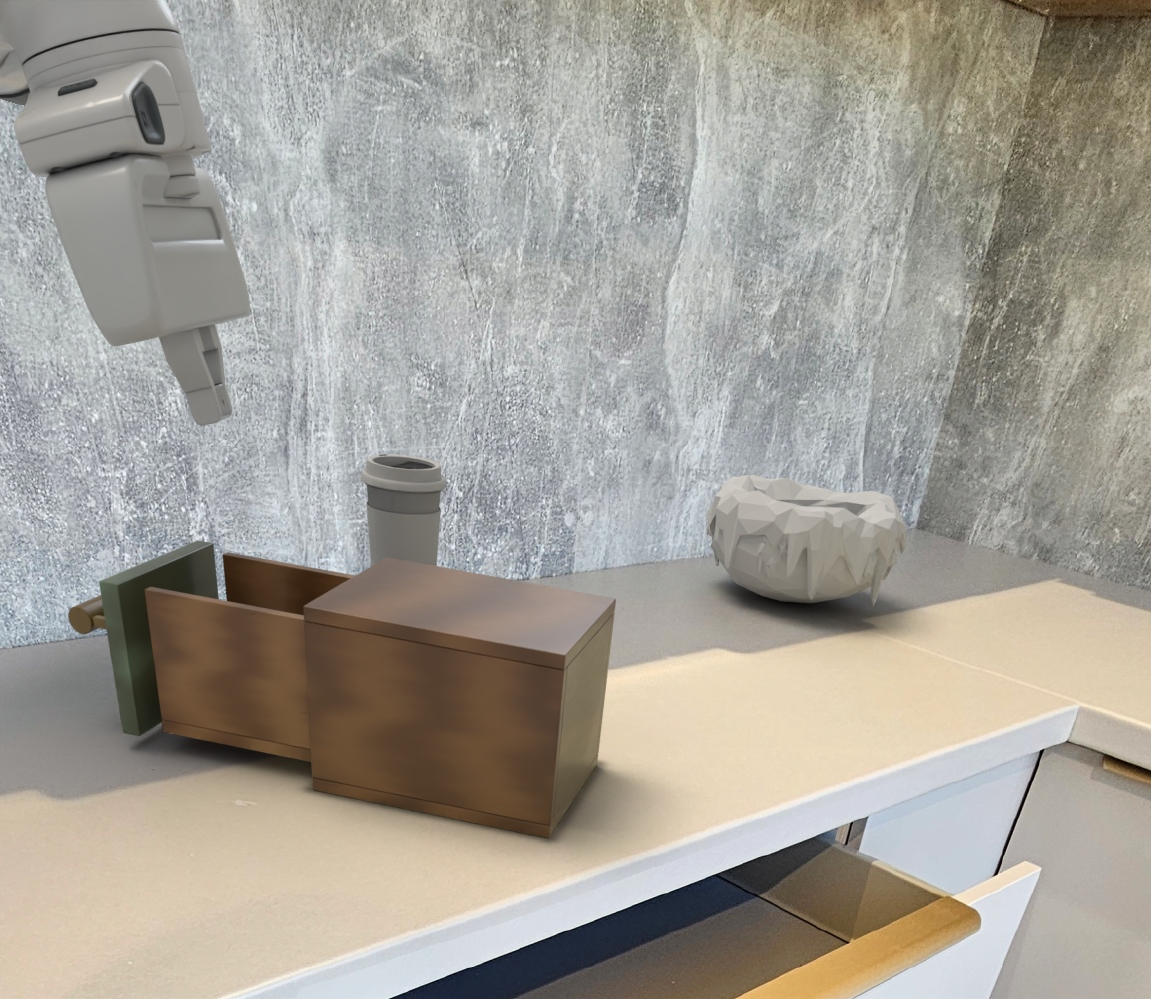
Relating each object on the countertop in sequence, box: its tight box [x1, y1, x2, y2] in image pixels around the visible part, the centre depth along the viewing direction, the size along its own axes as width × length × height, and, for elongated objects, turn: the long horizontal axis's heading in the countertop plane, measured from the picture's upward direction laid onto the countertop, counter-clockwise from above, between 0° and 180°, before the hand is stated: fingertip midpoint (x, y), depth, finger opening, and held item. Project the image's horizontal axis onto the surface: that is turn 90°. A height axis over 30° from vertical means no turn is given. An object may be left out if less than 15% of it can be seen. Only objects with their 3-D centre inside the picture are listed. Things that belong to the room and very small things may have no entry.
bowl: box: [705, 474, 907, 607], centre depth 118 cm, size 21×20×10 cm
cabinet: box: [303, 557, 617, 839], centre depth 74 cm, size 16×14×11 cm
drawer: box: [67, 540, 356, 763], centre depth 75 cm, size 19×12×9 cm, turn 76°
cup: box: [360, 453, 448, 567], centre depth 97 cm, size 7×7×12 cm
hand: (215, 421), depth 74 cm, fingers closed
